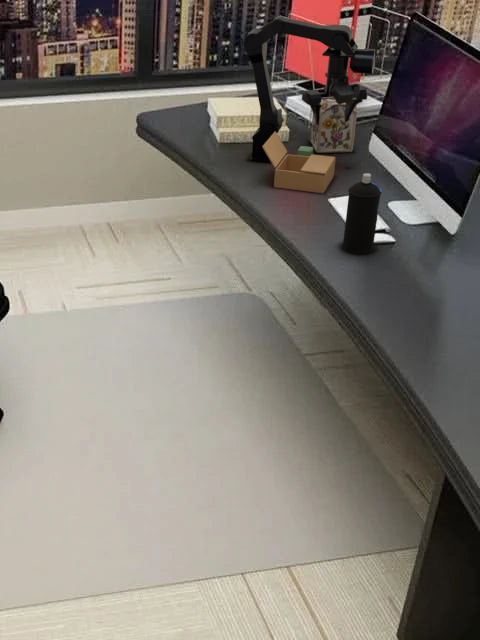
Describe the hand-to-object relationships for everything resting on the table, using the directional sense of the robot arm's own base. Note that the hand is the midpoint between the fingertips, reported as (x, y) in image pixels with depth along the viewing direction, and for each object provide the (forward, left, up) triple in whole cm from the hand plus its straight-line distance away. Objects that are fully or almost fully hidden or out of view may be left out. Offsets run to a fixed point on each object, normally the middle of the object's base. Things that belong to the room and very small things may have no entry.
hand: (331, 123), depth 303 cm
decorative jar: (-2, +16, -13) cm, 21 cm away
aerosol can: (+21, -56, -13) cm, 61 cm away
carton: (-3, -16, -13) cm, 21 cm away
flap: (-13, -16, -4) cm, 21 cm away
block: (-7, +1, -13) cm, 15 cm away
